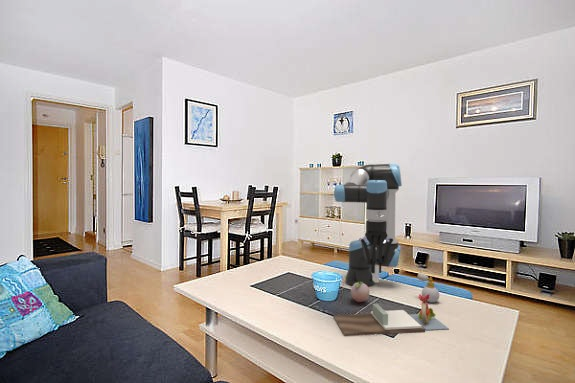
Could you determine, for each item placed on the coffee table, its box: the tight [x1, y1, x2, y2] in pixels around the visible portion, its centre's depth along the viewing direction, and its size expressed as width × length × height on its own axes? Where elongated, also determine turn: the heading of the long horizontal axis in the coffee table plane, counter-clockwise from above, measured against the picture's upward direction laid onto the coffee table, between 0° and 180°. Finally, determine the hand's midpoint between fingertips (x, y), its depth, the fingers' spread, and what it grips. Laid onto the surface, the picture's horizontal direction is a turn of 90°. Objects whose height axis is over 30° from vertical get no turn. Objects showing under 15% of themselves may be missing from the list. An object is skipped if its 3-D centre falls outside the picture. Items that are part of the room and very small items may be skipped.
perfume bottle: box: [417, 272, 440, 304], centre depth 141 cm, size 8×10×12 cm
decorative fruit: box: [350, 281, 370, 303], centre depth 139 cm, size 9×8×10 cm
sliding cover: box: [370, 303, 422, 330], centre depth 119 cm, size 14×14×5 cm
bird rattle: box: [417, 294, 436, 324], centre depth 119 cm, size 6×11×9 cm
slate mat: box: [409, 313, 450, 332], centre depth 120 cm, size 13×9×1 cm
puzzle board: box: [333, 313, 426, 337], centre depth 118 cm, size 15×30×1 cm, turn 96°
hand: (375, 281), depth 118 cm, fingers closed
